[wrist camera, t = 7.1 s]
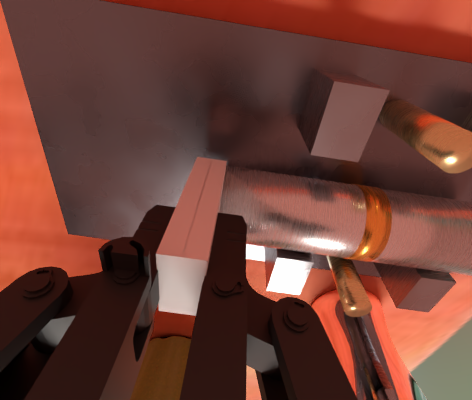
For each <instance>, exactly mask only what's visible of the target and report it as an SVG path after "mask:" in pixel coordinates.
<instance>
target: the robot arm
mask: <svg viewBox="0 0 472 400" xmlns="http://www.w3.org/2000/svg"><path fill="white" fill-rule="evenodd" d="M226 164H227V161H223V160H216V159H210V158H203V157H197V159H196V161H195V163H194V166H193V168H192V170H191V173H190V175H189V177H188V180H187V182H186V184H185V187H184V189H183V191H182V194H181V196H180V198H179V201H178V203H177V205H176V207H171V206H163V205H155V206H154V207H153V208H151V209H150V210H149V211H147V213H146V215H145V216H144V218H143V220H142V222H141V223H140V225H139V227H138V229H137V230H136V232H135V234H134V236H133V237H121V238H117V239H113V240H111V241H109V242H107V243H105V244H104V245H103V246H102V247H101V248H100V249H99V250H98V251H99V255H100V260H101V264H102V269H103V271H102V272H99V273H95V274H91V275H83V276H76V277H68V275H67V273H66V272H65V271H64V270H62V269H61V268H57V267H43V268H38V269H35V270H33V271H30V272H28V273H26V274H24V275H23V276H21V277H19V278H18V279H17V280H15V281H14V282H13V283H11V284H10V285H9V286H7V287H6V288H5V289H4V290H2V291H1V292H0V400H130V398H131V395H132V392H133V389H134V386H135V383H136V380H137V377H138V374H139V371H140V368H141V365H142V362H143V359H144V356H145V353H146V349H147V346H148V343H149V340H150V337H151V334H152V331H153V328H154V314H155V311H156V308H157V306H159V311H163V312H171V313H179V314H186V315H194V316H196V318H195V323H194V328H193V333H192V338H191V343H190V348H189V353H188V358H187V364H186V369H185V374H184V379H183V384H182V389H181V394H180V399H179V400H246V365H248V366H250V367H251V368H253V369H255V371H256V375H257V380H258V384H259V389H260V393H261V398H262V400H358V399H357V397H356V395H355V393H354V390H353V388H352V386H351V384H350V382H349V380H348V378H347V376H346V373H345V371H344V369H343V367H342V365H341V363H340V361H339V359H338V357H337V354H336V352H335V350H334V348H333V346H332V344H331V342H330V340H329V337H328V335H327V333H326V331H325V329H324V327H323V325H322V323H321V320H320V318H319V316H318V315H317V313H316V312H315V310H314V309H313V308H312V307H311V306H310V305H309V304H307V303H306V302H305V301H303V300H300V299H298V298H293V297H286V298H283V299H280V300H279V301H278V302H275V301H273V300H271V299H268V298H266V297H264V296H262V295H260V294H258V293H257V292H256V291H255V290H254V289H252V287H251V286H250V285H249V283H248V281H247V279H246V240H247V236H246V235H247V224H246V222H245V220H244V218H243V216H240V215H233V214H226V213H219V210H220V203H221V196H222V189H223V183H224V177H225V171H226Z"/></svg>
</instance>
